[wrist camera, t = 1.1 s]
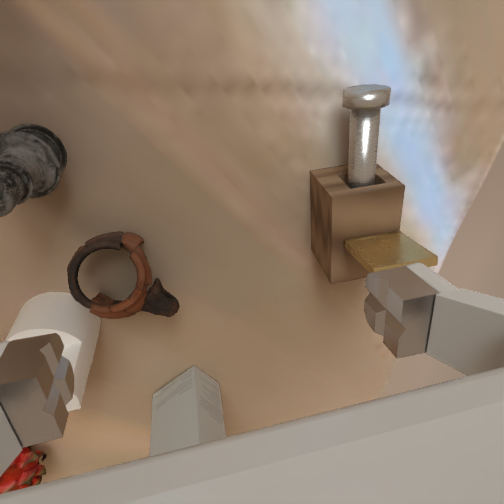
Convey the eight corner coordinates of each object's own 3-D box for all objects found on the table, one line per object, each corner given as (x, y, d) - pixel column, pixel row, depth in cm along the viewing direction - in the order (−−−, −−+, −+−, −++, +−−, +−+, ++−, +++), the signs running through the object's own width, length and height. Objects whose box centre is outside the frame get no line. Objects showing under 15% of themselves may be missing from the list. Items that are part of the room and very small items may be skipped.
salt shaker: (83, 165, 37) (49, 224, 27) (32, 193, 37) (-20, 261, 27) (39, 108, 34) (-19, 151, 24) (-17, 140, 34) (-95, 195, 24)
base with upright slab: (85, 285, 44) (59, 367, 34) (110, 340, 49) (93, 426, 39) (4, 300, 43) (-47, 388, 33) (38, 354, 48) (2, 445, 38)
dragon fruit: (63, 438, 60) (-20, 427, 58) (49, 442, 52) (-47, 429, 50) (43, 502, 56) (-45, 492, 55) (25, 516, 49) (-78, 505, 47)
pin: (336, 88, 35) (353, 97, 32) (378, 82, 35) (399, 90, 32) (333, 239, 44) (346, 259, 40) (367, 234, 44) (382, 252, 41)
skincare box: (179, 409, 58) (180, 517, 46) (150, 391, 55) (143, 503, 43) (222, 381, 57) (235, 486, 44) (194, 361, 53) (200, 468, 41)
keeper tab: (343, 247, 38) (343, 238, 38) (397, 237, 39) (397, 229, 38) (373, 277, 32) (373, 267, 32) (437, 265, 32) (437, 255, 32)
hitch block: (310, 170, 41) (332, 197, 35) (372, 160, 42) (404, 185, 36) (311, 249, 46) (330, 284, 41) (366, 239, 47) (393, 272, 41)
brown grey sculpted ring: (71, 293, 45) (41, 304, 37) (104, 218, 45) (82, 213, 37) (168, 331, 46) (160, 350, 38) (199, 259, 47) (199, 263, 38)
